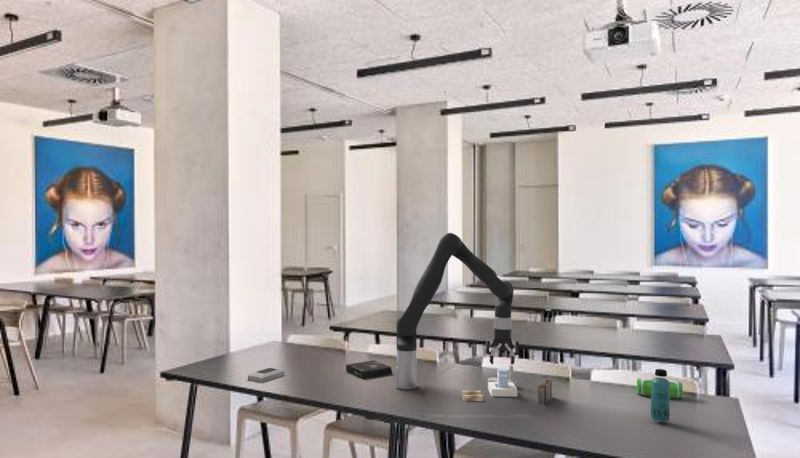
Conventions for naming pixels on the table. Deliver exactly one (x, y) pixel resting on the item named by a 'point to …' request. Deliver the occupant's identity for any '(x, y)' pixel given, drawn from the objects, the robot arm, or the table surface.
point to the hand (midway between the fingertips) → (502, 364)
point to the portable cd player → (368, 369)
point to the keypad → (266, 374)
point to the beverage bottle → (660, 396)
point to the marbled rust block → (544, 391)
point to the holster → (472, 396)
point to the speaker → (646, 387)
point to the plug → (502, 378)
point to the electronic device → (509, 377)
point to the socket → (502, 390)
